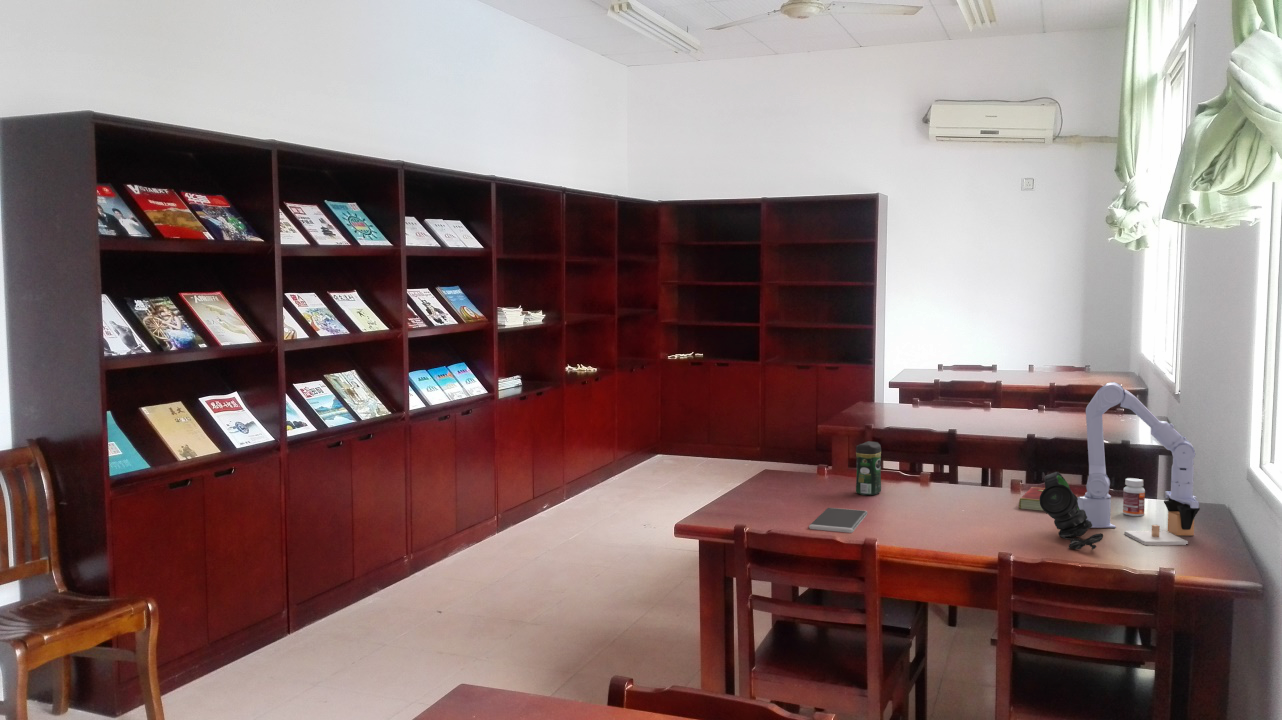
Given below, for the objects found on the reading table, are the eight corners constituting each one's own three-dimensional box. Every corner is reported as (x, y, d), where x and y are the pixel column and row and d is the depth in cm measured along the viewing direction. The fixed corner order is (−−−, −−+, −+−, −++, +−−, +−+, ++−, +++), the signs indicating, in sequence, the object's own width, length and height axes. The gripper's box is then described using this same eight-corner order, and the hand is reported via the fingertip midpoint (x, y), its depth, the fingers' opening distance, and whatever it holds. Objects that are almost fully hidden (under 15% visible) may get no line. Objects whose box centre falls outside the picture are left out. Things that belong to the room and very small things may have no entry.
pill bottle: (1143, 517, 301) (1144, 482, 300) (1121, 515, 304) (1122, 480, 304) (1145, 513, 306) (1146, 479, 305) (1124, 511, 310) (1125, 477, 309)
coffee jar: (863, 489, 346) (863, 439, 345) (883, 492, 341) (884, 441, 340) (852, 494, 338) (852, 442, 337) (873, 497, 334) (874, 444, 332)
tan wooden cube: (1176, 535, 279) (1177, 515, 278) (1167, 531, 284) (1168, 511, 283) (1193, 535, 279) (1194, 515, 278) (1184, 531, 284) (1185, 511, 283)
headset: (1068, 575, 269) (1059, 508, 293) (1117, 561, 262) (1103, 494, 286) (1040, 531, 264) (1032, 466, 287) (1089, 516, 257) (1077, 451, 280)
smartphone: (868, 515, 309) (868, 510, 309) (852, 534, 284) (852, 528, 284) (827, 512, 314) (827, 507, 314) (808, 530, 290) (808, 524, 290)
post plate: (1144, 544, 269) (1145, 531, 268) (1124, 534, 281) (1124, 520, 280) (1187, 544, 268) (1188, 531, 268) (1165, 534, 280) (1165, 520, 280)
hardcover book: (1018, 509, 315) (1019, 497, 315) (1030, 497, 333) (1030, 486, 332) (1057, 513, 309) (1058, 501, 308) (1067, 501, 326) (1067, 489, 326)
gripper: (1210, 486, 273) (1208, 533, 274) (1182, 476, 287) (1180, 520, 288) (1185, 486, 273) (1183, 533, 274) (1158, 476, 287) (1157, 521, 288)
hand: (1180, 526), depth 281 cm, fingers open, 5 cm apart
